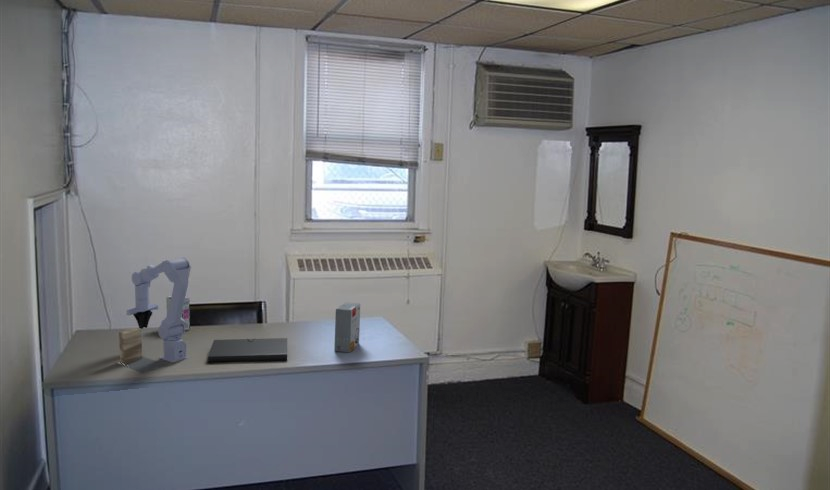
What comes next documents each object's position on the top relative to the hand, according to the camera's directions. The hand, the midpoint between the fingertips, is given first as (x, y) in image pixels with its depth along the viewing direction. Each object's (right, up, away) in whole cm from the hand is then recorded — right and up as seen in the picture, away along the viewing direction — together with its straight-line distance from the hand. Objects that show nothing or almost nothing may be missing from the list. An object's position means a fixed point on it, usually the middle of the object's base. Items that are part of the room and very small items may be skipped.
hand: (143, 327), depth 292 cm
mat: (+7, -13, -18) cm, 24 cm away
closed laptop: (+47, -12, +1) cm, 49 cm away
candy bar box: (+3, -5, +34) cm, 35 cm away
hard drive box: (+90, -11, +14) cm, 91 cm away
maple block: (+1, -12, -15) cm, 19 cm away
